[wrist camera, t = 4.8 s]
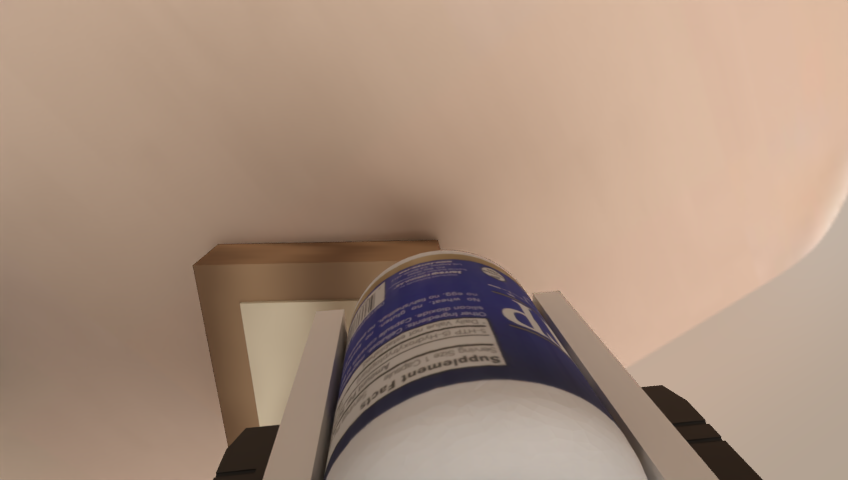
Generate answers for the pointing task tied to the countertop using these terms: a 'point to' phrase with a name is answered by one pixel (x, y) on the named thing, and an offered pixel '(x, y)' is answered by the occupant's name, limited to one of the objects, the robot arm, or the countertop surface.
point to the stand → (278, 313)
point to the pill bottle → (465, 384)
